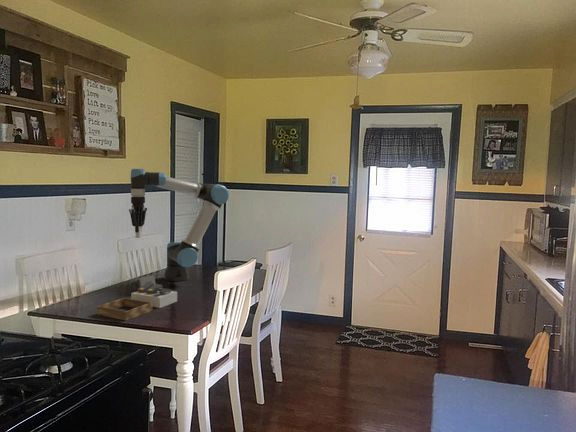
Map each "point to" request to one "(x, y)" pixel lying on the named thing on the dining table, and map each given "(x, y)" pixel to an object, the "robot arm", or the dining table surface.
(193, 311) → the dining table surface
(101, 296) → the dining table surface
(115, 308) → the tray
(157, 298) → the switch unit
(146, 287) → the rocker
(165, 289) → the rocker
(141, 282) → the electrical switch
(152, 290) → the rocker
